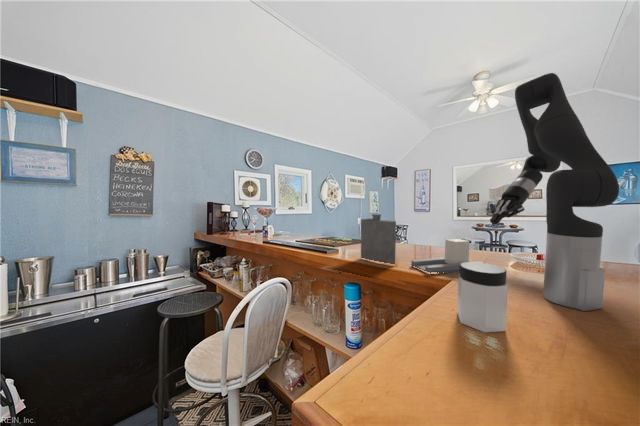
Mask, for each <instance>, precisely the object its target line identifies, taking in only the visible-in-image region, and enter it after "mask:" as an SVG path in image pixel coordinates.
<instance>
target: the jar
mask: <svg viewBox="0 0 640 426" xmlns="http://www.w3.org/2000/svg"><path fill="white" fill-rule="evenodd" d="M458 273H459V274H458V277H457V278H458V284H457V285H458V286H457V310H456V311H457V316H458V319H459V323H461V324H463V325H465V326H467V327H470V328H473V329H475V330H477V331H480V332H482V333H497V332H498V333H499V332H506V331H507V311H508V290H509V289H508V288H509V286H508V285H507V269H505V268H504V267H502V266H499V265H495V264H491V263H486V262H485V263H479V262H477V261H469V262H464V263H461V264H460V267H459V272H458Z"/></svg>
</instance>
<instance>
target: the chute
mask: <svg viewBox="0 0 640 426" xmlns="http://www.w3.org/2000/svg"><path fill="white" fill-rule="evenodd" d="M476 262H479V263H486V262H484V261H480V260H479V261H476ZM410 263H411V264H410V265H412V266H415V267H417V268H419V269H422V270H424V271H427V272H430V273H431V272H437V273H438V272H439V273H443V272H444V273H445V274H452V273H453V272H455V273H459V267H460V264H461V263H455V264H447V263H445V257H436V258H434V257H433V258H422V259H411V261H410ZM447 272H448V273H447ZM453 274H454V273H453Z"/></svg>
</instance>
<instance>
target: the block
mask: <svg viewBox="0 0 640 426" xmlns="http://www.w3.org/2000/svg"><path fill="white" fill-rule="evenodd" d="M444 244H445V245H444V258H445V263H447V264H455V263H464V262H470V260H469V259H470V240H466V239H462V238H461V239H460V238H453V239H452V238H451V239H450V238H449V239H448V238H447V239H445V242H444Z"/></svg>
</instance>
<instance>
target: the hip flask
mask: <svg viewBox="0 0 640 426" xmlns="http://www.w3.org/2000/svg"><path fill="white" fill-rule="evenodd" d="M371 216H372V218H360V219H361V221H360V259H361V258H365V259H369V260H374V261H379V262H384V263H390V264H395V265H396V245H397V244H396V241H397V240H396V239H397V238H396V237H397V233H396V232H397V231H396V229H397V227H396V226H397V224H396V223H397V221H396V220H386V219H385V220H384V219H381V217H382V214H379V213H374V214H373V213H372V214H371Z"/></svg>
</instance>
